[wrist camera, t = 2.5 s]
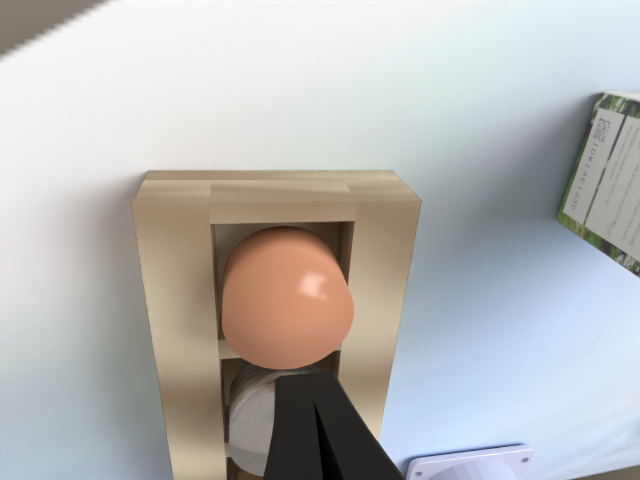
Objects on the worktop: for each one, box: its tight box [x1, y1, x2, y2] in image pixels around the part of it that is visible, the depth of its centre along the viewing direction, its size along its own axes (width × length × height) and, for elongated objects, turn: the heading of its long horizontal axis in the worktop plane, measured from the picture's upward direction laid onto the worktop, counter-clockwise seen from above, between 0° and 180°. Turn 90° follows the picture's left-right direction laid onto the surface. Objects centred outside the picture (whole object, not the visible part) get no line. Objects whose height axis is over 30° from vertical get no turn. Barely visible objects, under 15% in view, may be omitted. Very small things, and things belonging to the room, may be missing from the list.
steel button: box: [229, 362, 324, 477], centre depth 17 cm, size 4×4×2 cm
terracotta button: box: [222, 226, 354, 369], centre depth 14 cm, size 4×4×2 cm
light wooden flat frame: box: [131, 171, 422, 480], centre depth 19 cm, size 17×9×3 cm, turn 176°
